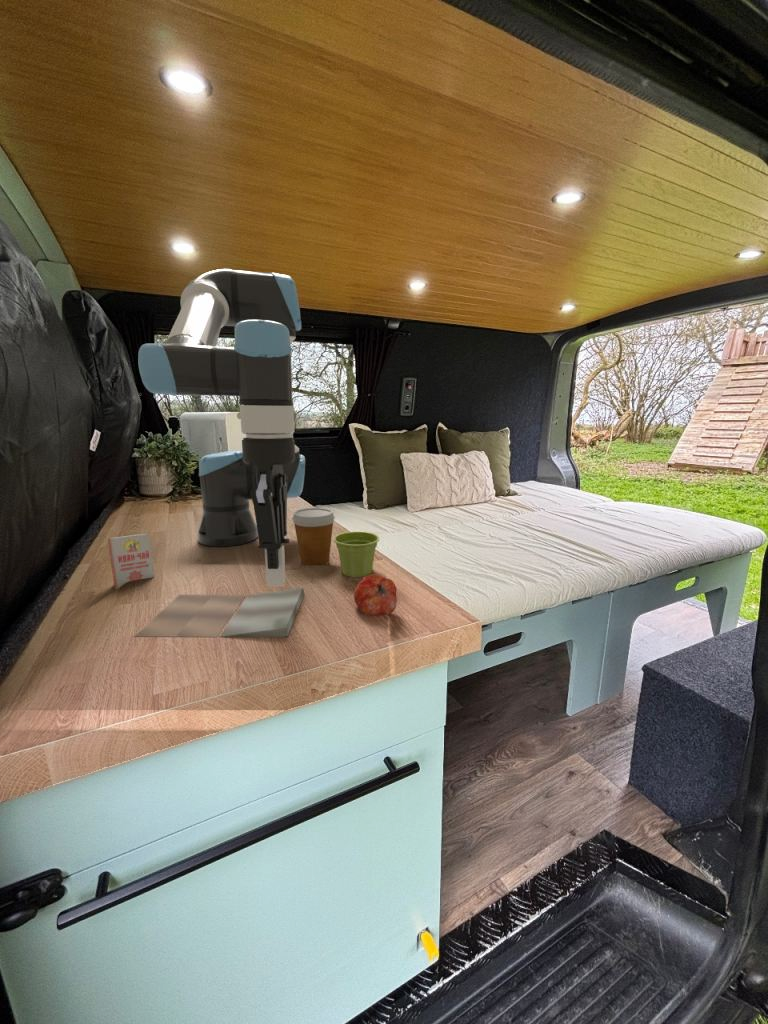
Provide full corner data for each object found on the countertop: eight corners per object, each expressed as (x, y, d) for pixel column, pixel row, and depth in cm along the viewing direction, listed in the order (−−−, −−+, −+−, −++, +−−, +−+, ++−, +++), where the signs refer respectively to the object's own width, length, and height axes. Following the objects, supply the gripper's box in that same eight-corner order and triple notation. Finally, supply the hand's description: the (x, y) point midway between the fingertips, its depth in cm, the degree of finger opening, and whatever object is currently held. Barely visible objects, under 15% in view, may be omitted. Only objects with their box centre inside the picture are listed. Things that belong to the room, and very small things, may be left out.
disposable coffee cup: (343, 565, 92) (342, 513, 89) (304, 573, 87) (302, 519, 84) (324, 553, 100) (323, 505, 97) (287, 560, 95) (285, 510, 92)
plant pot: (325, 576, 86) (324, 537, 83) (357, 565, 92) (357, 528, 90) (355, 590, 79) (355, 548, 77) (388, 576, 86) (388, 537, 84)
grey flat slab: (250, 602, 74) (248, 595, 73) (304, 594, 74) (302, 587, 73) (221, 645, 60) (219, 636, 60) (287, 636, 60) (285, 627, 60)
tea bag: (115, 583, 81) (108, 536, 78) (154, 577, 84) (148, 531, 82) (115, 590, 78) (107, 541, 75) (155, 583, 81) (149, 535, 79)
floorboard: (180, 601, 74) (179, 594, 73) (246, 602, 74) (246, 595, 73) (135, 645, 60) (134, 636, 60) (217, 645, 60) (216, 636, 60)
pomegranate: (350, 621, 72) (354, 611, 63) (352, 580, 75) (357, 565, 66) (391, 623, 73) (401, 614, 64) (392, 583, 76) (402, 569, 67)
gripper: (255, 433, 66) (264, 569, 72) (226, 438, 53) (239, 602, 59) (301, 434, 66) (306, 569, 72) (283, 439, 54) (291, 603, 59)
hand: (276, 584), depth 65 cm, fingers closed
